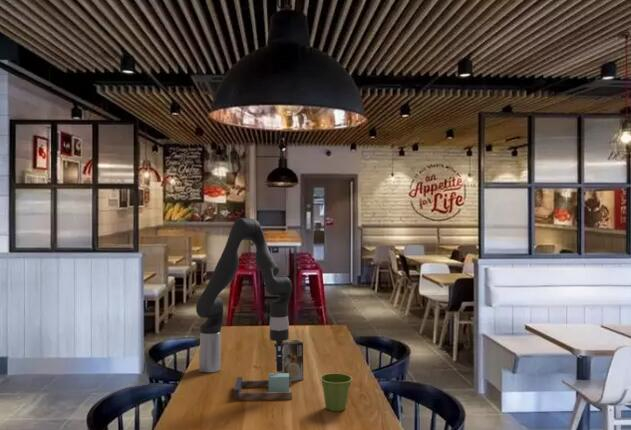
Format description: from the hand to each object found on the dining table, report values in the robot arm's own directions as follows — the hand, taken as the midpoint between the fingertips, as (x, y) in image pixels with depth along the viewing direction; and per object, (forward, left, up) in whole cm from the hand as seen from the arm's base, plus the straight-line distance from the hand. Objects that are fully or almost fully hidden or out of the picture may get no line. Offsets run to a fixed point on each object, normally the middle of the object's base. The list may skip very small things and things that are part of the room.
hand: (279, 368), depth 226 cm
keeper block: (0, 0, -10) cm, 10 cm away
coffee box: (+5, +17, -10) cm, 20 cm away
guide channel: (-6, 0, -10) cm, 11 cm away
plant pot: (+21, -19, -10) cm, 30 cm away
